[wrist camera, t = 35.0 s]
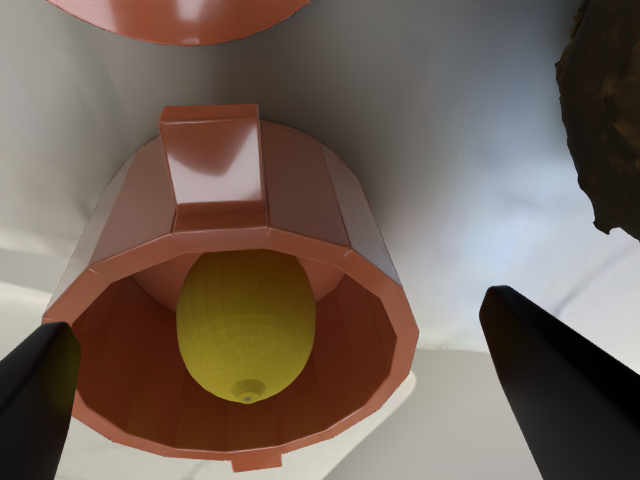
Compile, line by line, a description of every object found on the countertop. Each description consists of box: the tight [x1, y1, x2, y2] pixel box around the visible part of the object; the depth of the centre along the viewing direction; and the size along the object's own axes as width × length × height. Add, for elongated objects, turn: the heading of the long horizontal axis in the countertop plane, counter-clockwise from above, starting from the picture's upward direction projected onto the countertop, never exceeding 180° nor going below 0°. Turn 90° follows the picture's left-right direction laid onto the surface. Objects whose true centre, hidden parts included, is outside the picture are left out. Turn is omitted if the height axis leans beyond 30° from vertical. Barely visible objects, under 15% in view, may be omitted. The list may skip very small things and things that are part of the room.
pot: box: [41, 104, 419, 473], centre depth 18 cm, size 13×18×8 cm
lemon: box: [176, 248, 316, 404], centre depth 18 cm, size 6×6×8 cm
